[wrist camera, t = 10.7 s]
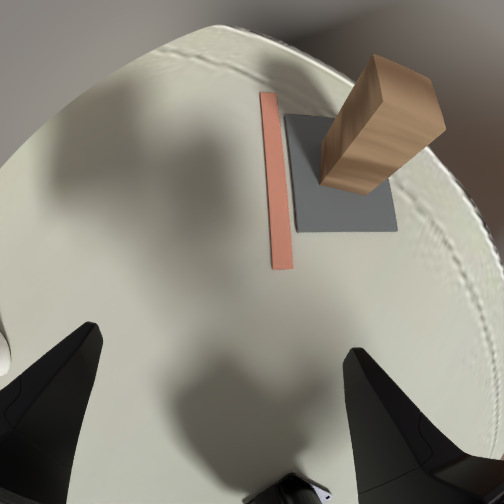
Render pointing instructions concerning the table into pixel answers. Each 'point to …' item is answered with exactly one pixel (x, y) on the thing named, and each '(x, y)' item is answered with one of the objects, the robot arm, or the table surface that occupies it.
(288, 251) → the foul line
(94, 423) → the table surface
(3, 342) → the drinking glass
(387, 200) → the mat
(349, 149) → the walnut block
